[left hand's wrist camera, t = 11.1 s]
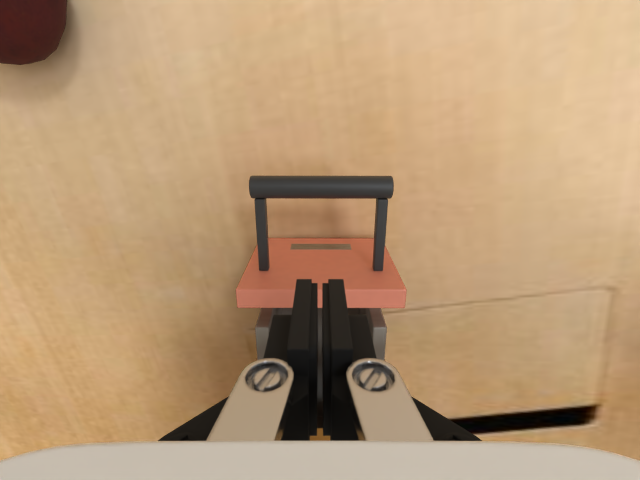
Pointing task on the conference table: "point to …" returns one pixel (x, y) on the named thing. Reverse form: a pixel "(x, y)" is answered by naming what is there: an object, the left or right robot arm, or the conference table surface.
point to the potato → (30, 29)
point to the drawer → (321, 261)
